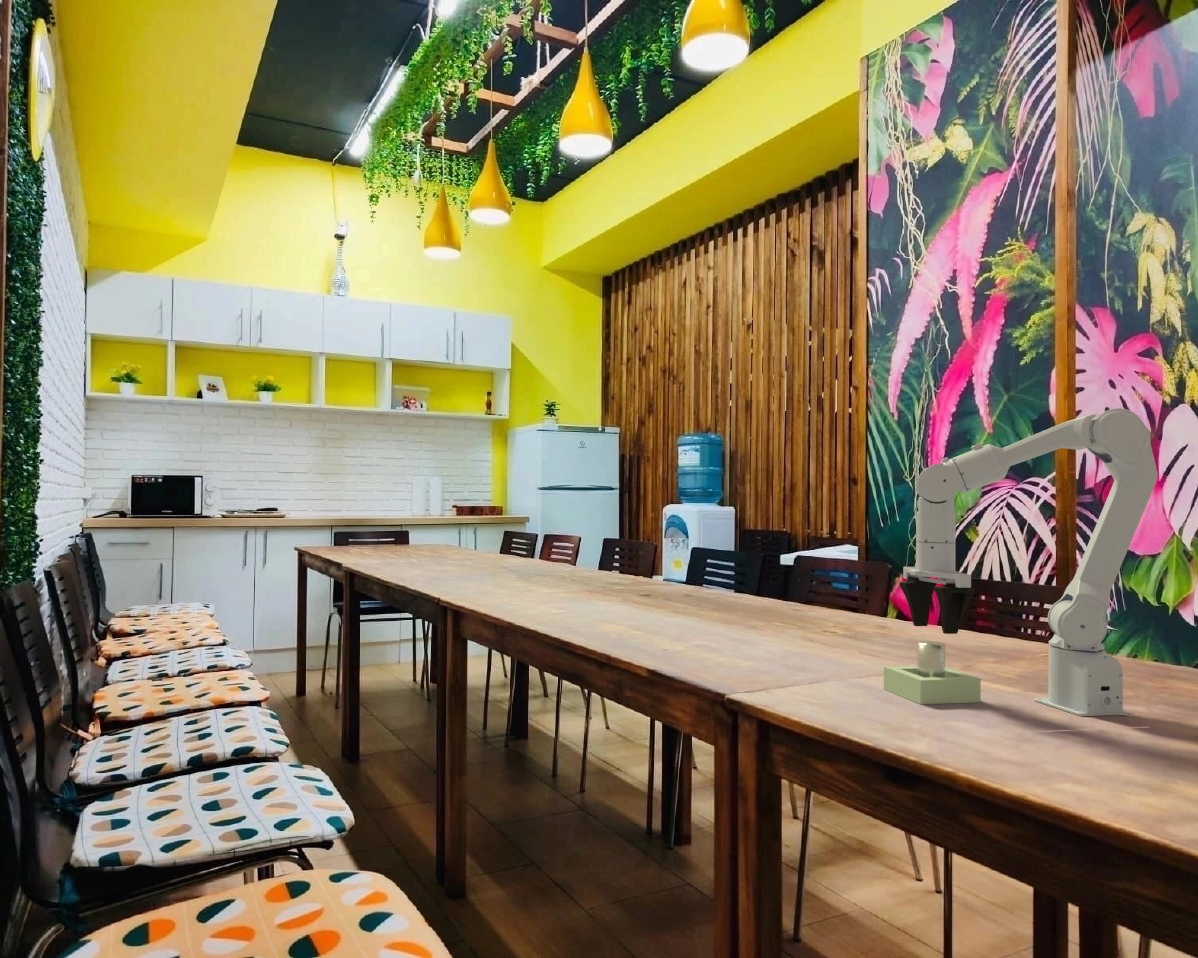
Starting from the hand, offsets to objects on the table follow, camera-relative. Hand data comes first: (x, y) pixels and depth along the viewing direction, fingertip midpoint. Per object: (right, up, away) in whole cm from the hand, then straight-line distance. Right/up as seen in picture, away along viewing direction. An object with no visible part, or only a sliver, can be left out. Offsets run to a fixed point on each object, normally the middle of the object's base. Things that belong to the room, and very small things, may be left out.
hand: (934, 629), depth 132 cm
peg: (-1, -10, -2) cm, 10 cm away
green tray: (-1, -10, -2) cm, 10 cm away
